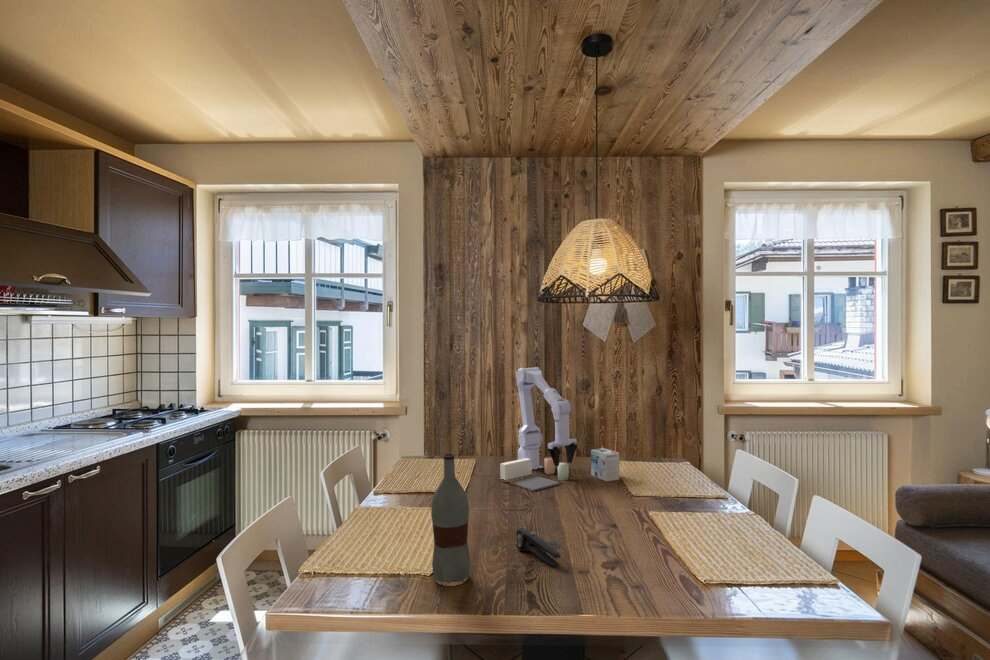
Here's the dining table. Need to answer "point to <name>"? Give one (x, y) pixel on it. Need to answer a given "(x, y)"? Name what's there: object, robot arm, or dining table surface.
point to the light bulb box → (605, 464)
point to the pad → (536, 483)
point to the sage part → (563, 471)
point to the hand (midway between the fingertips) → (563, 464)
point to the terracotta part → (549, 466)
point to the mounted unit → (515, 469)
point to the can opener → (536, 546)
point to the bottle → (450, 527)
